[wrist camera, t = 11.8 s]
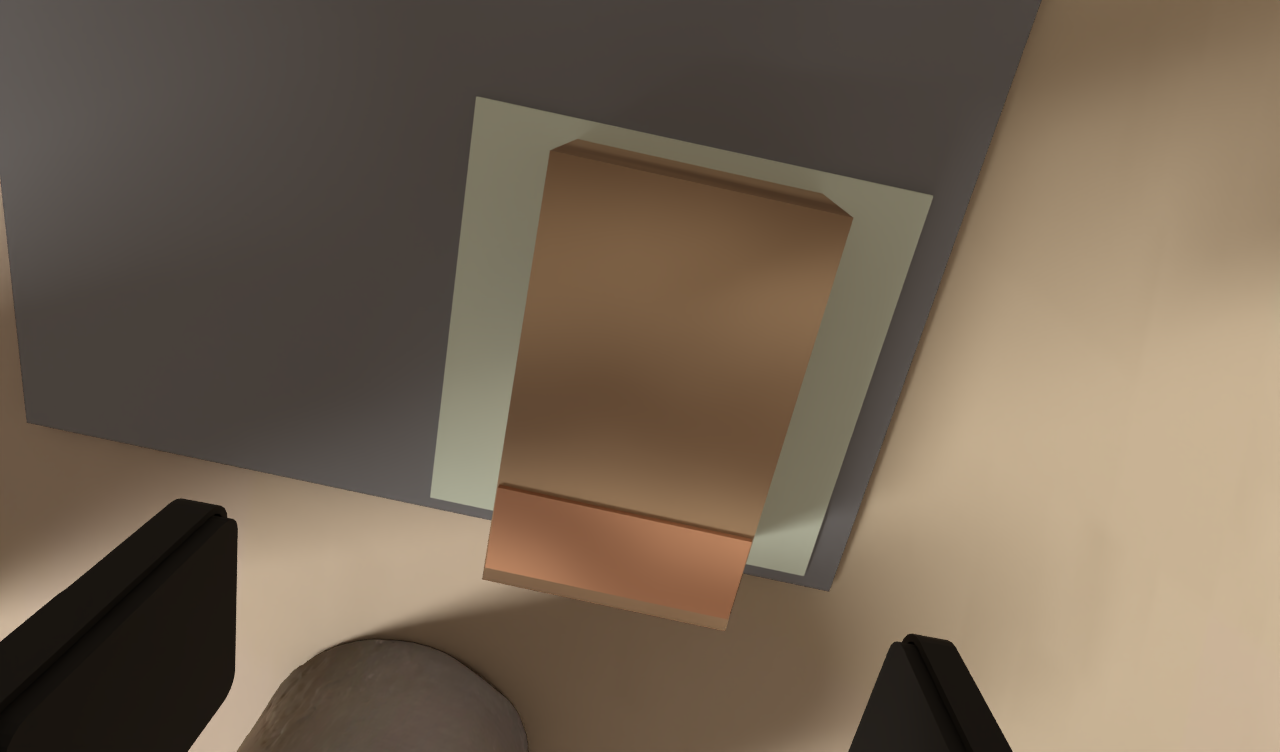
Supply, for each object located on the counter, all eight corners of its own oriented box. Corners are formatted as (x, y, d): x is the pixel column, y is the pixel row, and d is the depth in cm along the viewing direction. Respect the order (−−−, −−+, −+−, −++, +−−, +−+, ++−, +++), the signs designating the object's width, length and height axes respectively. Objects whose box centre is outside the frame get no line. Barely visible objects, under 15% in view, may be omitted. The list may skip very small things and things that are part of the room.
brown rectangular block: (577, 138, 19) (548, 150, 15) (822, 193, 19) (855, 218, 16) (515, 501, 23) (480, 583, 19) (719, 545, 23) (725, 635, 19)
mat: (37, 417, 24) (21, 425, 23) (-45, -377, 17) (-70, -393, 16) (827, 583, 24) (830, 595, 24) (1079, -126, 17) (1092, -133, 17)
